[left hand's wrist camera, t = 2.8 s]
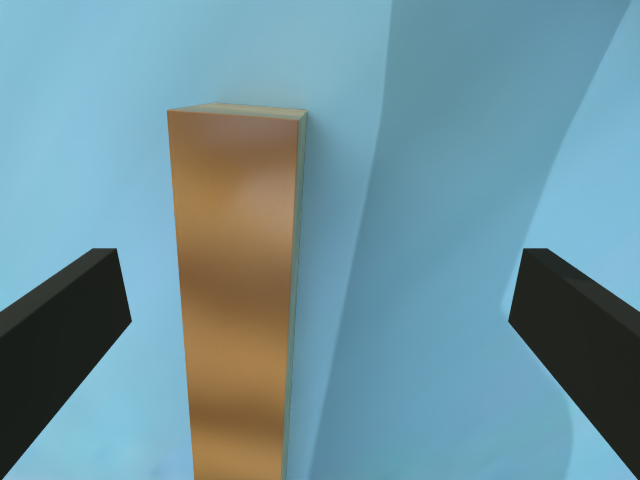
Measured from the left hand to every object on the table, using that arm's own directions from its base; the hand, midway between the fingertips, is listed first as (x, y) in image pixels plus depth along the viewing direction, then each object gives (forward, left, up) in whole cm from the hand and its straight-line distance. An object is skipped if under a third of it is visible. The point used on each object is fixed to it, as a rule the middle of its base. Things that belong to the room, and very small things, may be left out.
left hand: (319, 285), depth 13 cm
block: (+13, -30, -14) cm, 36 cm away
